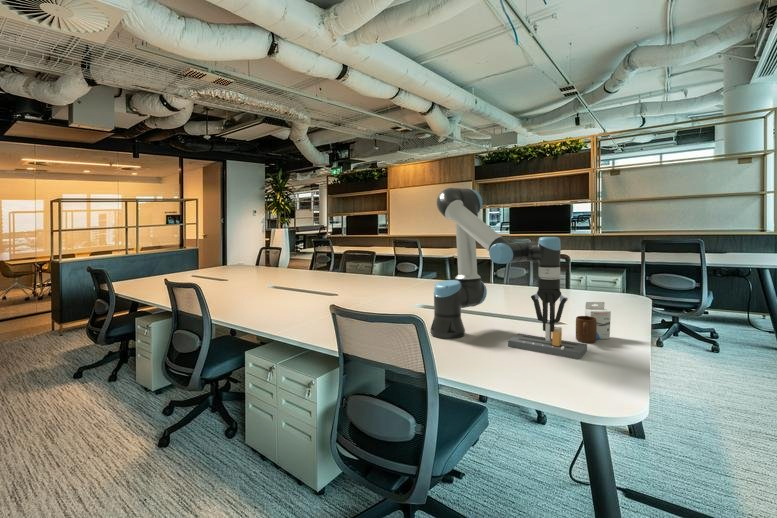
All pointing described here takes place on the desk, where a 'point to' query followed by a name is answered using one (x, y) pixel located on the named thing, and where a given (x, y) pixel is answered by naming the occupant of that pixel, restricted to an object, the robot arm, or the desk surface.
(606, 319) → the ink box
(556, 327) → the fader far
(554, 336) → the fader tab
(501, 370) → the desk surface
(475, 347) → the desk surface
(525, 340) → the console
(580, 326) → the mug
